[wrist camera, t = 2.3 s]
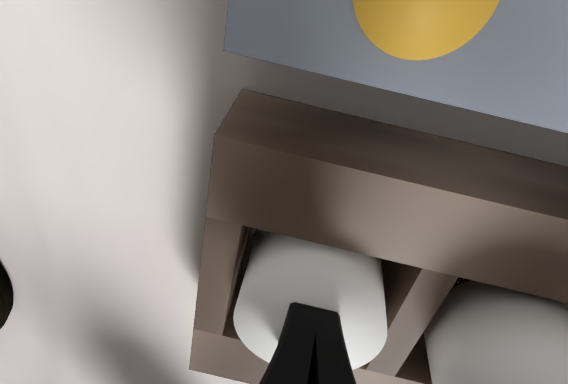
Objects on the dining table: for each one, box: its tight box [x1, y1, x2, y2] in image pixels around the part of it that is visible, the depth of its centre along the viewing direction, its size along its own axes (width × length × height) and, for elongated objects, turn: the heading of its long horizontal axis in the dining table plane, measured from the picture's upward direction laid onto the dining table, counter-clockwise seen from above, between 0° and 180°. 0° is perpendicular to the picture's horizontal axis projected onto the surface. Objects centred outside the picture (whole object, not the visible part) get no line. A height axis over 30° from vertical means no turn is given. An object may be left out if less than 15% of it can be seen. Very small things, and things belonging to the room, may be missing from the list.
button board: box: [189, 89, 568, 384], centre depth 14 cm, size 19×10×3 cm, turn 79°
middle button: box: [424, 280, 568, 384], centre depth 12 cm, size 4×4×4 cm
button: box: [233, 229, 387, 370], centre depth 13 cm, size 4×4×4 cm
